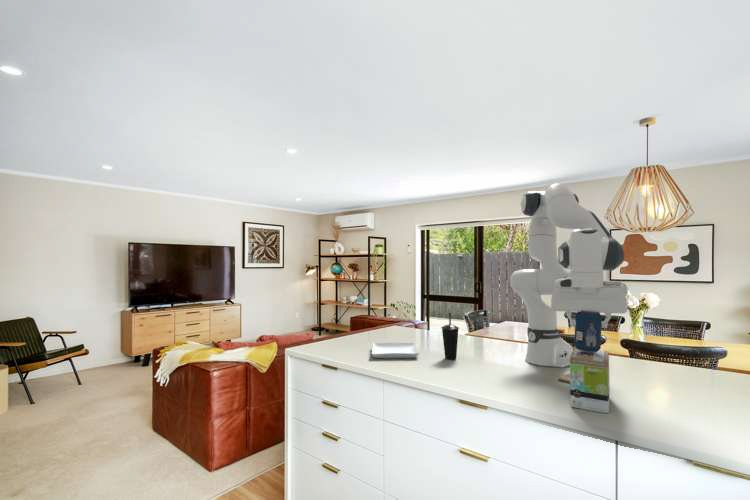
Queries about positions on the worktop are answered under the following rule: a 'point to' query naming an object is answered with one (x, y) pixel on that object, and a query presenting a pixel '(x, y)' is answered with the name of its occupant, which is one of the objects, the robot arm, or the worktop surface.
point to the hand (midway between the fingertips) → (588, 327)
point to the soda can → (588, 331)
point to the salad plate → (394, 350)
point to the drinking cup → (450, 340)
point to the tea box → (589, 380)
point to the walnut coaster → (565, 378)
